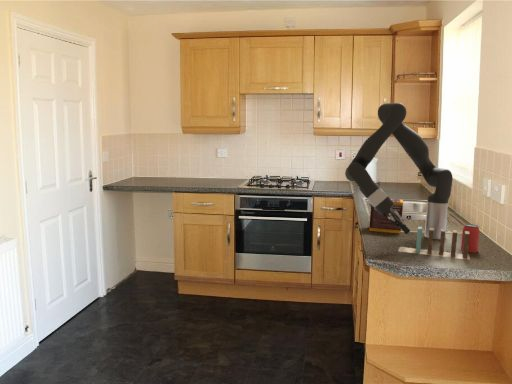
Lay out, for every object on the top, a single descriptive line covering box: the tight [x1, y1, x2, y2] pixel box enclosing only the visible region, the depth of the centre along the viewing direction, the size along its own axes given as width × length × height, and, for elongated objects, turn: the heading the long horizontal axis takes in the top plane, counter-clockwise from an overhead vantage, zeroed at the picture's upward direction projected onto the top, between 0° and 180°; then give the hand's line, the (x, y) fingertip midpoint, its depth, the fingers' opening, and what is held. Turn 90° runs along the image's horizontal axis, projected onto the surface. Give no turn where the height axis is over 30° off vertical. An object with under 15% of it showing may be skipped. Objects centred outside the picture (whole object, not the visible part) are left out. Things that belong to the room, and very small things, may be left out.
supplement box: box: [368, 198, 404, 234], centre depth 249 cm, size 10×15×16 cm
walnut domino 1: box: [427, 228, 434, 254], centre depth 204 cm, size 2×5×10 cm, turn 159°
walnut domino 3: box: [450, 229, 458, 257], centre depth 201 cm, size 2×5×10 cm, turn 159°
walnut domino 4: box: [462, 231, 470, 258], centre depth 199 cm, size 2×5×10 cm, turn 159°
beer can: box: [460, 223, 480, 253], centre depth 210 cm, size 7×7×12 cm
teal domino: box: [415, 226, 423, 253], centre depth 206 cm, size 2×5×10 cm, turn 159°
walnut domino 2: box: [438, 229, 446, 257], centre depth 202 cm, size 2×5×10 cm, turn 159°
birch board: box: [398, 246, 471, 261], centre depth 204 cm, size 28×8×1 cm, turn 69°
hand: (408, 232), depth 207 cm, fingers closed
